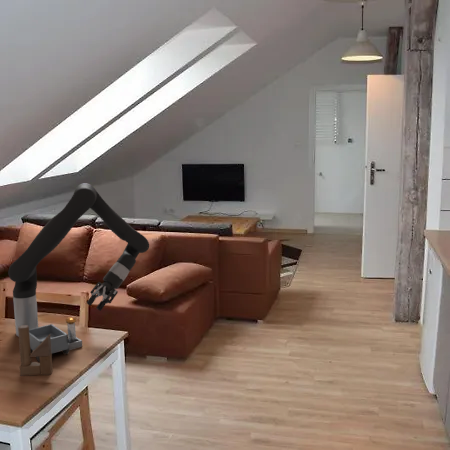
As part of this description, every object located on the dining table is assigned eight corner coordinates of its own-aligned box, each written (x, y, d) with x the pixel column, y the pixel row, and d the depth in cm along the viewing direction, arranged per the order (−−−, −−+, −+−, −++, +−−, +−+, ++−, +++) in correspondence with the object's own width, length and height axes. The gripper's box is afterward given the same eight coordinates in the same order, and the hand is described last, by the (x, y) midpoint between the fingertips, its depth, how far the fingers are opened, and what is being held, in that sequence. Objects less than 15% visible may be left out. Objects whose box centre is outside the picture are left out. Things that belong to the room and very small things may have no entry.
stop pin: (65, 346, 213) (64, 318, 211) (74, 343, 215) (73, 316, 213) (70, 349, 210) (68, 321, 208) (79, 346, 212) (77, 318, 210)
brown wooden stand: (50, 374, 188) (47, 327, 184) (19, 376, 187) (16, 328, 183) (52, 370, 191) (49, 323, 188) (22, 371, 190) (19, 324, 187)
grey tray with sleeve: (25, 351, 207) (24, 330, 206) (71, 338, 220) (69, 319, 218) (40, 363, 196) (39, 342, 195) (87, 349, 209) (86, 329, 207)
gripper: (102, 267, 225) (79, 298, 220) (119, 273, 215) (95, 306, 209) (113, 276, 229) (91, 307, 224) (130, 283, 219) (107, 316, 213)
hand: (93, 307), depth 217 cm, fingers open, 8 cm apart
